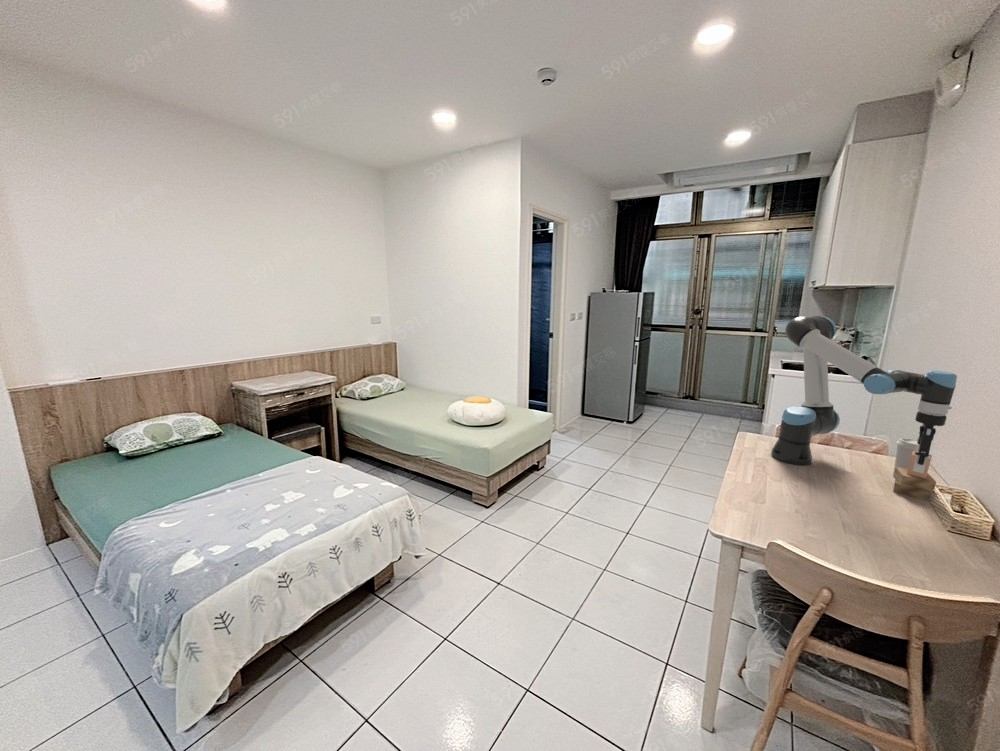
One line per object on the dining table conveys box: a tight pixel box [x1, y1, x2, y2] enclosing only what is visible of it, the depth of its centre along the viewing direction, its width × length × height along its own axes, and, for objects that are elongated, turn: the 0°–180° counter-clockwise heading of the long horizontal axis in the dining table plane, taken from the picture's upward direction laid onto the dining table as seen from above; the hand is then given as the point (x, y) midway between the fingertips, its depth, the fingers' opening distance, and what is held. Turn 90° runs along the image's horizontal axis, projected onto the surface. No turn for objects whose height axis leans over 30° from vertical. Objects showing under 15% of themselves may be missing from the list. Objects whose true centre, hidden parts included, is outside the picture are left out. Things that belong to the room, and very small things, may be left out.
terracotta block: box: [907, 451, 933, 479], centre depth 151 cm, size 5×5×8 cm
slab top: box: [892, 466, 937, 492], centre depth 153 cm, size 9×9×4 cm
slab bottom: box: [892, 478, 932, 502], centre depth 154 cm, size 10×10×4 cm
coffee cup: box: [893, 437, 919, 471], centre depth 167 cm, size 10×10×15 cm
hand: (917, 466), depth 152 cm, fingers open, 13 cm apart
